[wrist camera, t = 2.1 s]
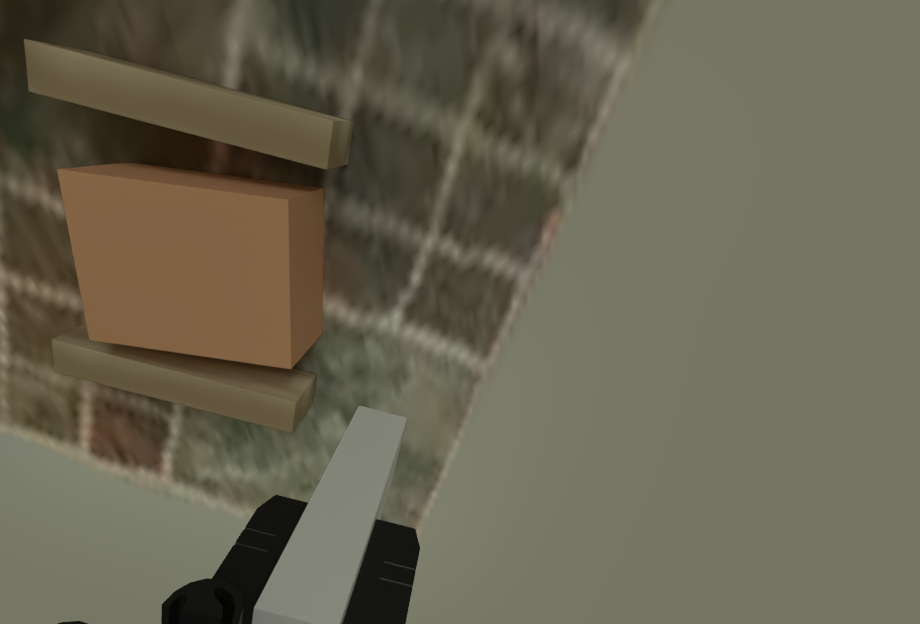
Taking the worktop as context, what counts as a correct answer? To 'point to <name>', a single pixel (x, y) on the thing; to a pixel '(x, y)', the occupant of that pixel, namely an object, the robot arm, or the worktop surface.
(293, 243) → the block
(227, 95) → the chute
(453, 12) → the worktop surface
